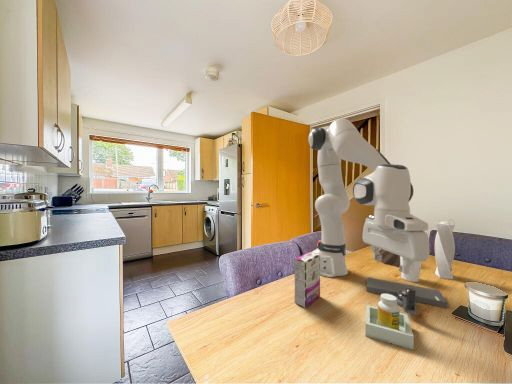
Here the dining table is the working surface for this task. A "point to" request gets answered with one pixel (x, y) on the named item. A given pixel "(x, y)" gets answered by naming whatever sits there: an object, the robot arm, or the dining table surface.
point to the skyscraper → (444, 249)
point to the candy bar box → (307, 278)
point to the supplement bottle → (388, 312)
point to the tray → (389, 329)
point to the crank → (408, 300)
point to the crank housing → (393, 288)
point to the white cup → (411, 271)
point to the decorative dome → (390, 258)
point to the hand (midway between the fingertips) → (390, 266)
